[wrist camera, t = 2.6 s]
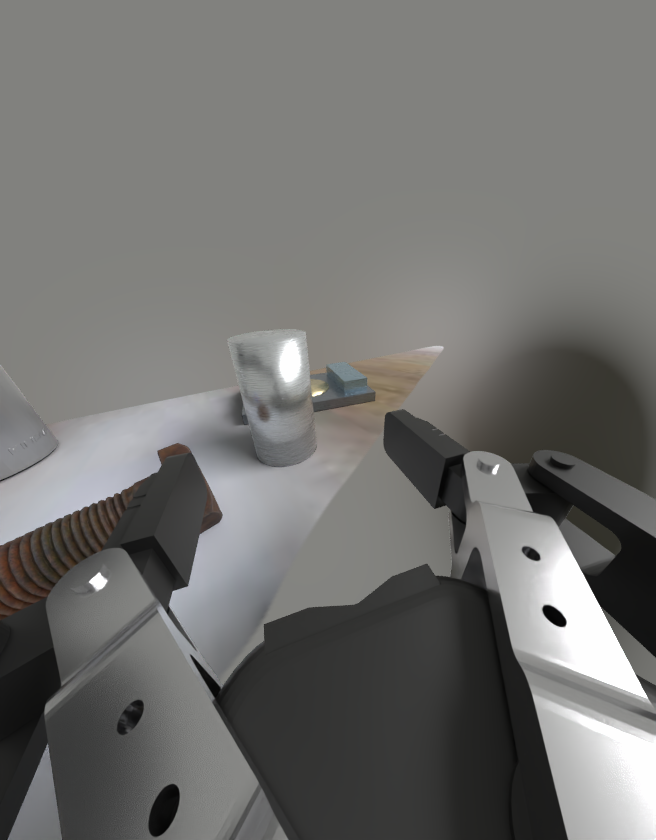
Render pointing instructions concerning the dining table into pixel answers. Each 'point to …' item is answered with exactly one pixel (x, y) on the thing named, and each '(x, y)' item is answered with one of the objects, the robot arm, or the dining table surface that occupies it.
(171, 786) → the robot arm
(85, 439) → the dining table surface
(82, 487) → the dining table surface
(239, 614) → the dining table surface
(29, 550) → the bolt
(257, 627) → the dining table surface
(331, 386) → the base plate
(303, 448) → the cylinder
